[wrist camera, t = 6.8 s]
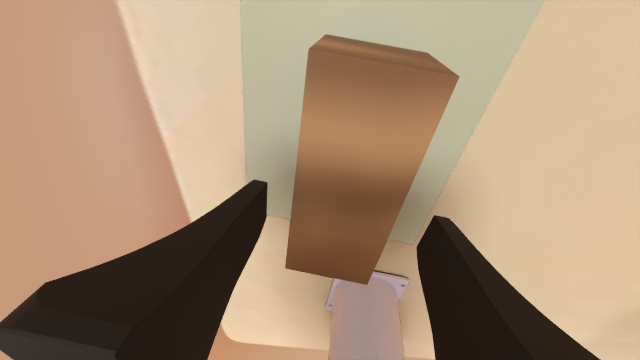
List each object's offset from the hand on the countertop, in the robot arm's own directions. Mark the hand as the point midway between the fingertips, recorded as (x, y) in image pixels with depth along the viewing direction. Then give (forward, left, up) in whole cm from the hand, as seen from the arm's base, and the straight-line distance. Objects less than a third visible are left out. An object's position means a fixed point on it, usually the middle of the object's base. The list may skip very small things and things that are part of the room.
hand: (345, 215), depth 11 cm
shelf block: (0, 0, -6) cm, 6 cm away
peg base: (0, 0, -10) cm, 10 cm away
